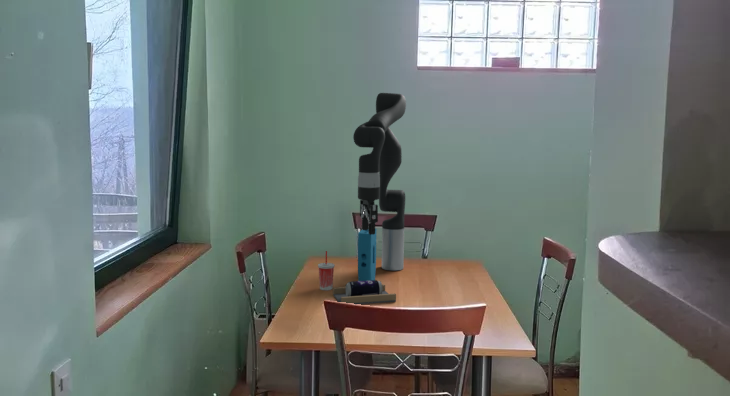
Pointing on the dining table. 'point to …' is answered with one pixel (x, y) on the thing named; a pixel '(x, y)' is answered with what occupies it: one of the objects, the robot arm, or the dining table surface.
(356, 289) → the beverage can
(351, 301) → the brown open tray
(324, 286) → the beverage cup
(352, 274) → the dining table surface
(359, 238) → the block
